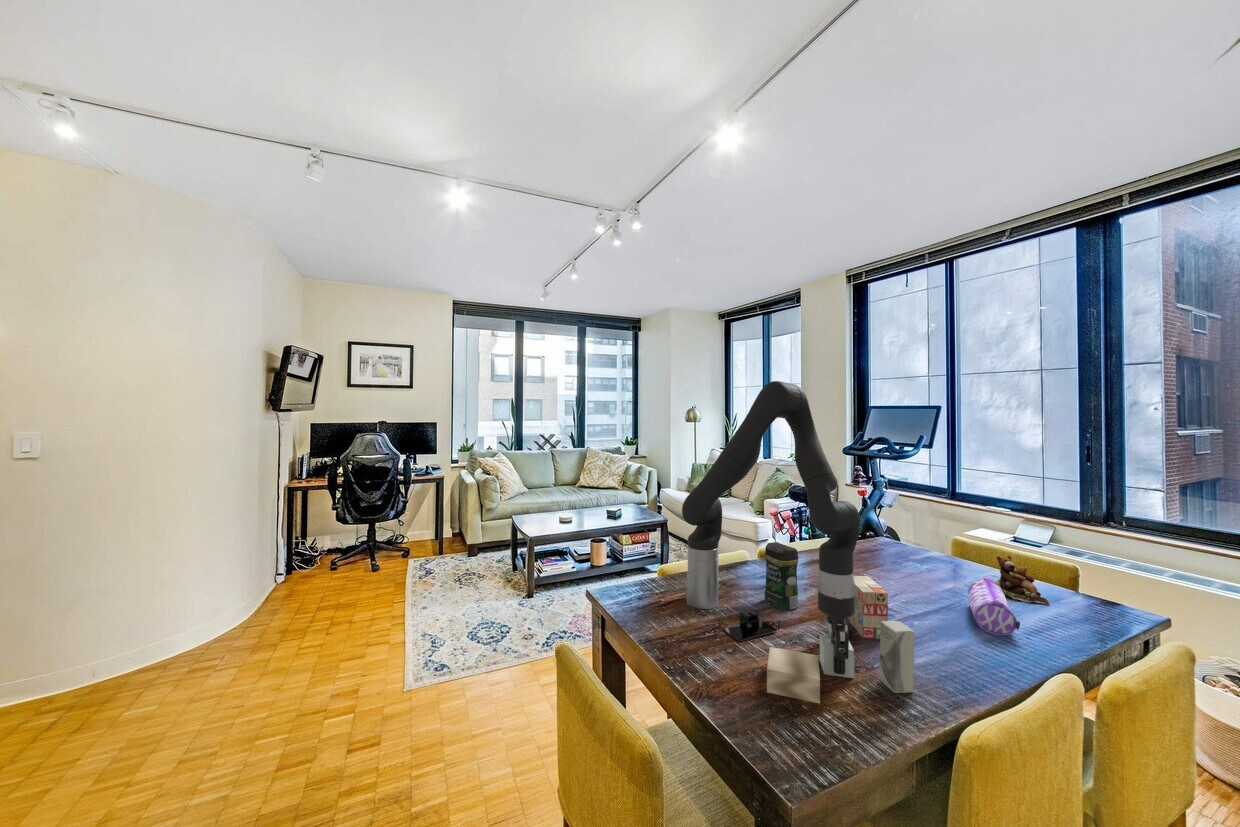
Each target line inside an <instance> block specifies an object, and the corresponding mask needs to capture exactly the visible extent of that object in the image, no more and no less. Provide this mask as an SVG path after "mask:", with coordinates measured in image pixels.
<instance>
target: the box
mask: <svg viewBox="0 0 1240 827" xmlns="http://www.w3.org/2000/svg"><path fill="white" fill-rule="evenodd" d="M879 640H880V646H879V648H880V649H879V680H880V681H881V682H882V683H883V684H884V685H885V686H886V687H887V688H888V689H889V690H891V691H892V692H893V693H894V694H907V693H914V676H915V675H914V672H915V630H913V629H912V628H910V627H909V626H908V625H905V624H904V623H903V622H901V621H899V620H888V621H881V635H880V639H879Z"/></svg>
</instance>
